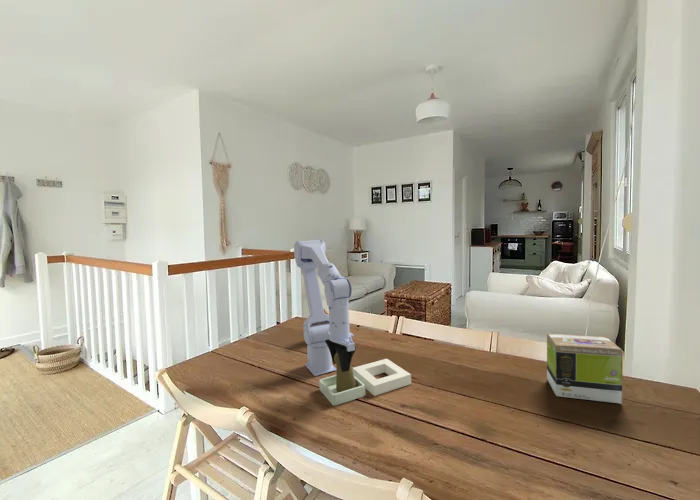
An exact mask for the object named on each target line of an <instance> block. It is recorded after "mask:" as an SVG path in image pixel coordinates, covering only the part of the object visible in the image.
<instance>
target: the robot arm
mask: <svg viewBox="0 0 700 500" xmlns="http://www.w3.org/2000/svg"><path fill="white" fill-rule="evenodd" d="M326 251H327V247H326V243H325V241H324V240H323V239H312V240H311V239H310V240H309V239H308V240H296V241H295V242H294V245H293V254H294V261H295V264H296V267H298V268H300V269H301V272H302V275H303V281H304V282H303V283H304V288H305V294H306V299H307V304H308V312H309V316H308V317H307V318H306V319H305V320H304V322H303V325H302V326H303V339H304V342H305V343H306V345H307V346H306V353H307V354H306V357H307V362H306V363H305V364H304V366H305V367H306V368H307V369H308V370H309V372H311V373H312V375H313V376H314V377H317V376H321V375H324V374H328V373H331V372H335V371H336V369H337V367H335V366H334V365H336V364H335V362H334V356H335V354H336V353H337V354H338V357H339V360H340V367H341V370H342V372H345V371H349V368H350V364H351V365H352V361H351V360H353V356H354V354H355V353H356V350H357V346H355V345H356V344H355V342H353V337H354V334H353V333H352V332H350V309H349V308H350V307H349V299H350V298H351V296H352V293H353V292H352V290H353V287H352V283H351V281H350V279H349V278H348V277H345V276H342V275H341V273H340V272H339V270H338V269H337V267H336V265H335V264H334V263H332V262H329V260H328V258H327V256H326ZM318 277H319V279H320V281H321V283H322V284H323V286H324V289H323V290H324V296H325V299H326V306H328V314H329V315H327V314H325V313H324V310H323V309H324V305H323V300H322V294H321V289H320V283H319V279H318ZM321 322H324V323H322V324H316V325H312V324H315V323H321ZM333 364H334V365H333Z"/></svg>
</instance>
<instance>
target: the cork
mask: <svg viewBox="0 0 700 500" xmlns="http://www.w3.org/2000/svg"><path fill="white" fill-rule="evenodd" d="M352 360H353V359H352ZM352 360H351V362H352ZM334 362H335V364H334V365H335V366H336V373H335V375H336V390H337V392H338V393H339V392H342V391H345V390H349V389H352V388H355V387H357V386H356V382H355V378H354V374H353V367H352V363H351V364H350V368H349V371H345V372H342V370H341V367H340V360H339V357H338V354H337V353H336V354H335V356H334Z"/></svg>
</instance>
